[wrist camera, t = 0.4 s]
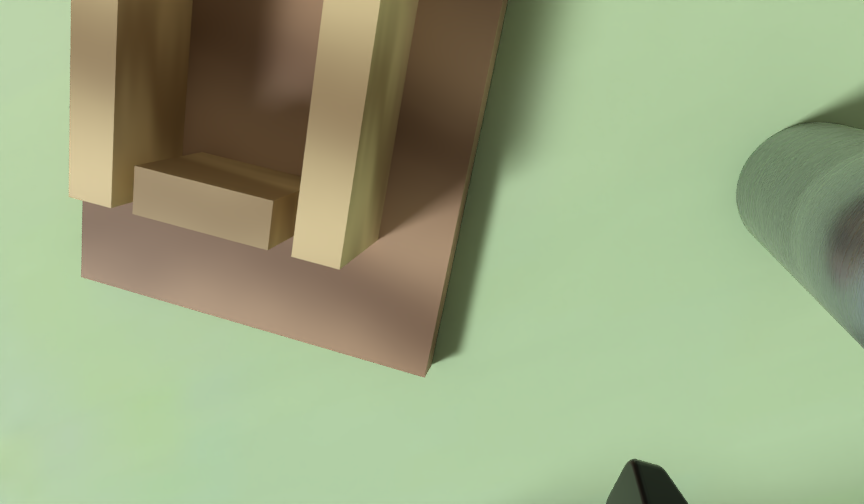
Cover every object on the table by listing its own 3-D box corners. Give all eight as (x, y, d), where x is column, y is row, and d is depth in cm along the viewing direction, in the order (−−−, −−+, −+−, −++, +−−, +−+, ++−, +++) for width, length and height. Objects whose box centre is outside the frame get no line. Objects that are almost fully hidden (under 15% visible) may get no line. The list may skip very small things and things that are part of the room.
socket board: (431, 365, 23) (395, 429, 19) (99, 269, 26) (3, 307, 22) (550, -202, 18) (537, -286, 14) (114, -256, 20) (-11, -343, 16)
